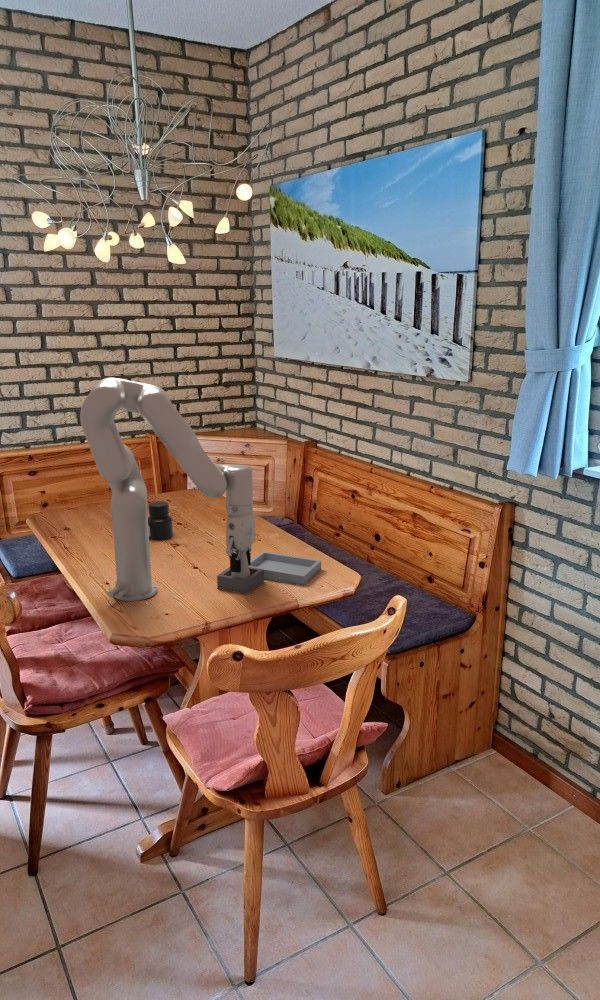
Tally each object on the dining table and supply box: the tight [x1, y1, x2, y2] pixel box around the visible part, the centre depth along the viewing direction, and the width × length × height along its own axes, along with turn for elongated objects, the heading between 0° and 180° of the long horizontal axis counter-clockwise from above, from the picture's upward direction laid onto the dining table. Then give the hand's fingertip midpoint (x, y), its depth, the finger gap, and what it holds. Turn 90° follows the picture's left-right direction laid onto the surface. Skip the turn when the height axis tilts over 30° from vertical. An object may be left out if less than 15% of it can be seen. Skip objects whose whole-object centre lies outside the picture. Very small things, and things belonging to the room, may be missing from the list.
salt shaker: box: [231, 546, 251, 579], centre depth 205 cm, size 6×6×13 cm
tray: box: [249, 550, 322, 587], centre depth 217 cm, size 14×20×3 cm
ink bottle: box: [148, 500, 174, 541], centre depth 247 cm, size 10×9×12 cm
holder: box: [216, 566, 265, 595], centre depth 207 cm, size 10×10×4 cm
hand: (240, 567), depth 206 cm, fingers open, 5 cm apart
